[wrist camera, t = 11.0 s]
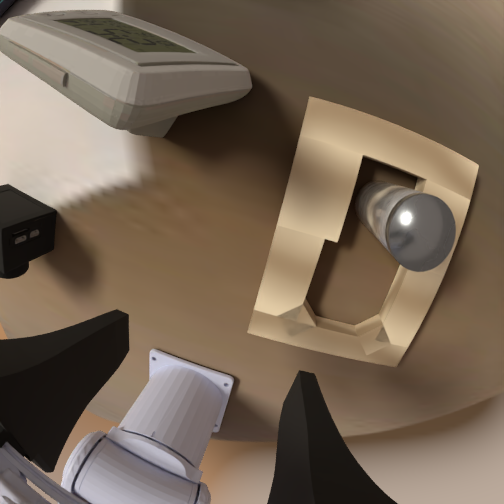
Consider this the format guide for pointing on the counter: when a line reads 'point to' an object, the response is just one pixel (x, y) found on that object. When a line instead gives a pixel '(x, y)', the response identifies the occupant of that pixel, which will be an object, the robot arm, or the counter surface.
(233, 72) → the digital clock
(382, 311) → the keyhole board
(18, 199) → the digital camera
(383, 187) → the peg
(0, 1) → the portable speaker
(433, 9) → the counter surface
